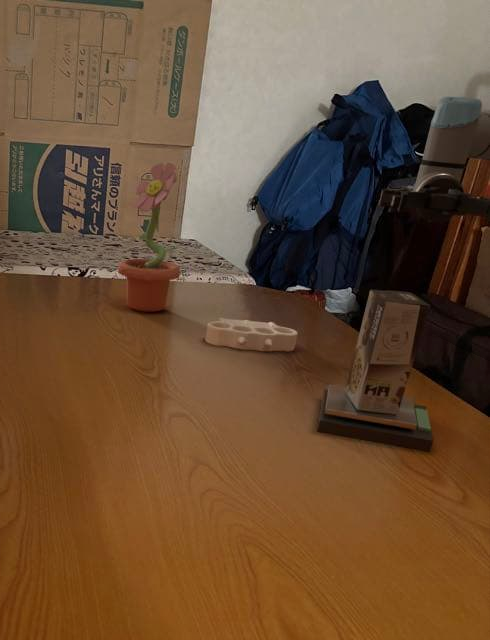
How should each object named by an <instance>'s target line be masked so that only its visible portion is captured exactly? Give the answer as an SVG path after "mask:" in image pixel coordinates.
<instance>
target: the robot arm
mask: <svg viewBox="0 0 490 640" xmlns="http://www.w3.org/2000/svg"><path fill="white" fill-rule="evenodd" d="M482 107H483V102H482V100H481V99H479V98H474V97H473V98H472V97H462V96H444V97H442V98H440V99H439V100H438V102H437V105H436V108H435V111H434V114H433V117H432V119H431V121H430V127H429V130H428V135H427V139H426V141H425V142H426V143H425V147H424V150H423V155H422V158H421V162H420V165H419V169H418V172H417V176H416V180H415V182H414V183H413V186H412V189H411V188H410V189H409V188H408V187H401V188H382V190H381V193H380V197H379V202H378V206H379V207H381V208H384V207H389V209H388V213H393V214H396V211H397V214H404V213H405V209H414V211H417V212H418V214H419V215H420V217H421V218H422V219H423V220H424V221H427V222H428V223H429V224H430V223H431V224H432V223H433V224H439V223H444V222H446V221H449V220H450V219H452V218H453V217H455V216H457V217H458V216H460V217H465V216H467V215H471V216H475V217H480V218H485V220H486V221H487V222H488V223H490V198H488V197H485V196H484V195H480V196H477V197H473V195H472V193H470V192H469V193H468V192H465V191H464V187H463V185H462V183H461V180H462V176H463V173H464V169H465V166H466V163H467V159H477V160H483V161H484V160H485V161H490V113H488V112H482Z"/></svg>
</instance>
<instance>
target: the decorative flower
mask: <svg viewBox="0 0 490 640" xmlns="http://www.w3.org/2000/svg"><path fill="white" fill-rule="evenodd" d="M176 169H177V167H176V165H175V164H174V163H172V162H167V163H165V165H164V162H159V163H157V164H155V165H153V166H152V168H150V174H151V177H152V181H151V182H150V181H146V180H141V181H140V182H139V183H138V184H137V187H136V188H135V194H136V195H140V194H141V195H140V196H138V197H136V198H135V199H134V200H133V207H134V208H136V209H139V211H140V212H143V213H147V212H149V211H150V210H151V214H150V215H151V216H150V219H149V222H148V225H147V227H146V228H147V229H146V231H145V232H143V233H142V234H141V235H140V236H139V241H143V240H144V241H145V245H146V247H147V248H148V249H150V250H151V251H152V252H154V253H156V254H157V255H156V256H155V257H153V258H129V259H125V260H122V261H120V262H119V263H118V265H117V273H118V274H120V275H122V276H123V277H126V305H127V307H128V308H129V309H131V310H133V311H137V312H138V311H139V312H145V313H154V312H160V311H162V310H164V308H165V306H166V303H167V298H168V292H169V287H170V282H171V281H173V280H176V279H179V278H180V276H181V270H180V267H179V265H177V264H175V263H173V262H170V261H167V260H164V259H165V258H166V256H167V252H172V251H175V250H177V249H178V248H179V246H174V247H171V248H167V249H166V248H165V247H164V246H162V245H161V244H159V243H157V242H156V241H154V234H155V232H157V233H159V223H160V222H159V220H160V213H161V205H162V202H163V201H165V200H166V199H167V197H168V196H169V193H170V190H171V189H172V188H173V185H174V184H175V183H177V182H178V176H177V173H176V172H175V170H176Z"/></svg>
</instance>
